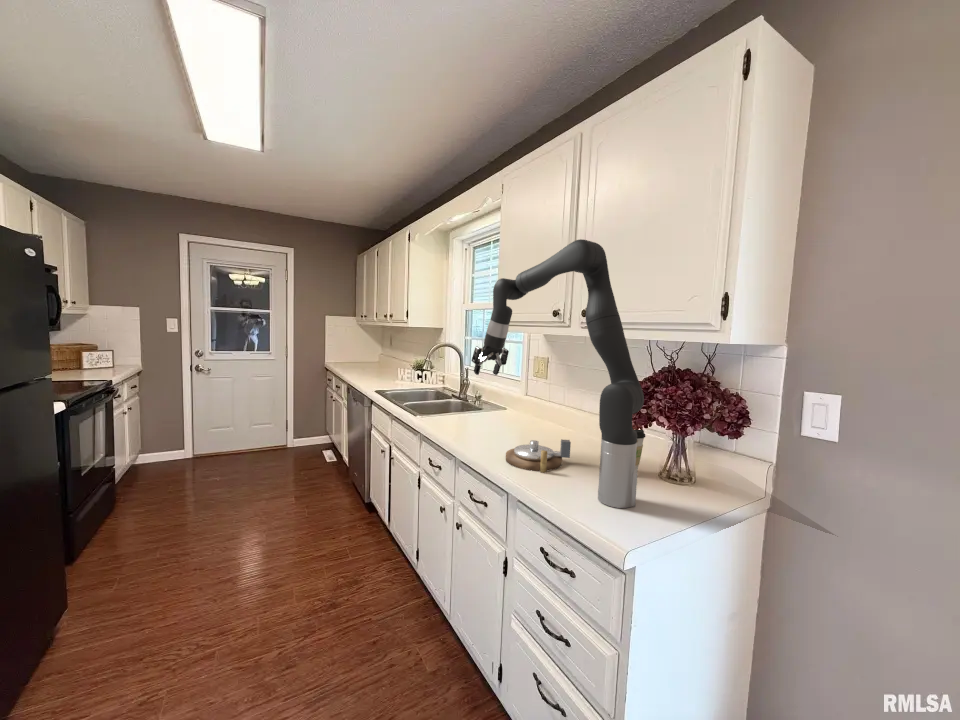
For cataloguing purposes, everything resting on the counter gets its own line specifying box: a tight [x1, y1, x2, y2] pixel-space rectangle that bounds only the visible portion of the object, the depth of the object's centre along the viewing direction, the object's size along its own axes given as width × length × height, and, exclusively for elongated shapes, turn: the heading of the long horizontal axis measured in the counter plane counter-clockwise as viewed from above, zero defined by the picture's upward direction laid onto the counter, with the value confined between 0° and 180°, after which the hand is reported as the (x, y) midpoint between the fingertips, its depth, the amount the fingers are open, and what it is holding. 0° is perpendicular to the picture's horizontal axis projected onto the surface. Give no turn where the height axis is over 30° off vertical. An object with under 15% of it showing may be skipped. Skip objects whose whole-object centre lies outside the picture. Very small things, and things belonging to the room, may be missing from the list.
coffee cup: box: [635, 429, 646, 472], centre depth 132 cm, size 10×10×15 cm
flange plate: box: [513, 439, 572, 461], centre depth 140 cm, size 20×14×6 cm
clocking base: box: [505, 448, 563, 474], centre depth 139 cm, size 20×22×7 cm
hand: (485, 374), depth 148 cm, fingers open, 8 cm apart
